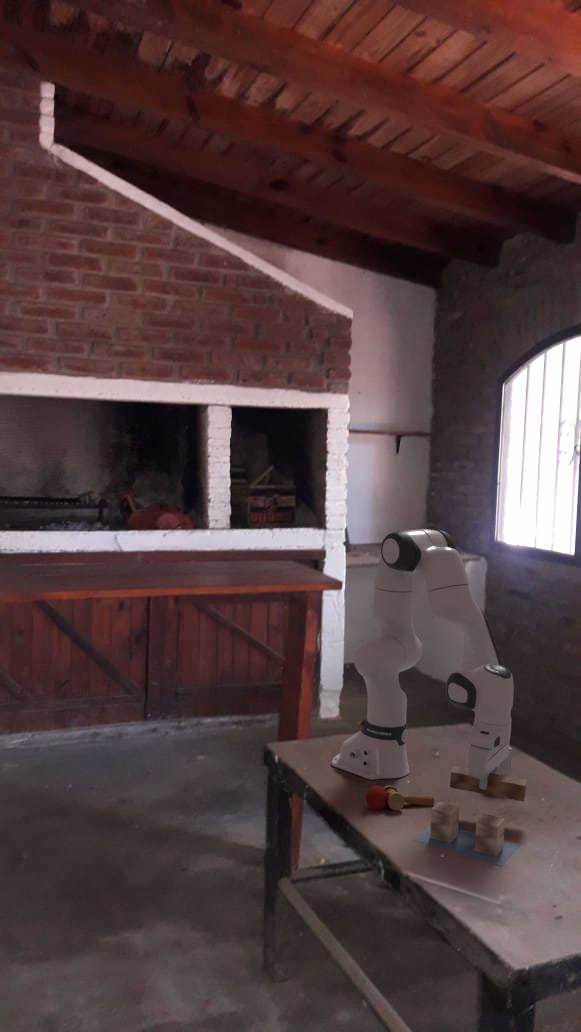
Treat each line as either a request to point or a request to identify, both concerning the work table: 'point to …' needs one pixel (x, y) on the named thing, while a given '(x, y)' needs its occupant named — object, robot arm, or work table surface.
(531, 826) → the work table surface
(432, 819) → the pillar left
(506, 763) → the light bulb box
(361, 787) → the work table surface
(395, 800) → the kendama
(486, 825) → the pillar right
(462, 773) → the beam
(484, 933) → the work table surface
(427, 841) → the board
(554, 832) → the work table surface
